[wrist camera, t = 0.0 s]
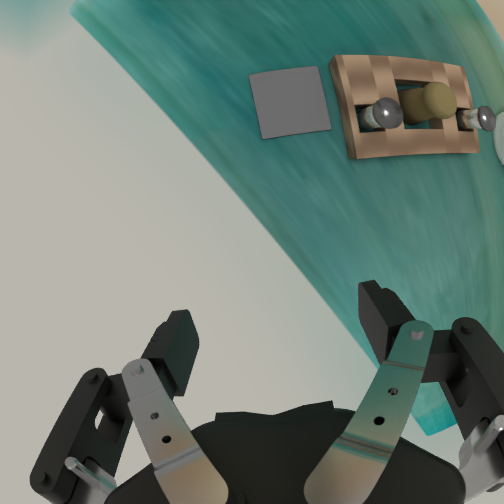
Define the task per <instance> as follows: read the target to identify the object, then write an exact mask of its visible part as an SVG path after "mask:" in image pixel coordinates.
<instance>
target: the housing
mask: <svg viewBox="0 0 504 504" xmlns="http://www.w3.org/2000/svg"><path fill="white" fill-rule="evenodd" d="M329 67H330V70H331V74H332V78H333V82H334V86H335V91H336V95H337V99H338V104H339V109H340V113H341V118H342V123H343V129H344V134H345V140H346V146H347V152H348V158H352V159H362V158H372V157H384V156H396V155H412V154H432V153H480V150H479V141H478V133H477V129H460V131H458V128H457V121H456V115H455V114H454V115H453V116H452V117H450V118H448V119H439V118H436V117H433V118H431V119H429V124H430V129H404V123H403V121H402V123H401V125H400V126H399V127H397V128H394V129H385V128H383V127H379V128H374V130H375V132H366V133H360V132H359V126H358V121H357V116H356V111H355V108H367V107H370V106H372V105H374V103H375V102H376V101H377V100H379V99H381V98H384V97H388V98H392V99H394V100H395V101H396V102H397V103H398V104H399V105H400V102H399V98H398V93H397V89H396V85H413V86H422V88H424V87H425V86H426V85H427V84H428V83H431V82H434V81H436V82H442V83H444V84H446V85H447V86H448V87H450V88H451V90H452V91H453V92H454V94H455V96H456V100H457V109H456V110H457V111H462V110H473V109H474V108H473V103H472V98H471V93H470V89H469V85H468V81H467V77H466V73H465V70H464V67H460V66H456V65H451V64H446V63H440V62H435V61H428V60H421V59H413V58H404V57H393V56H376V55H335V56H334V57H333V58H332V60H331V61H330V62H329Z"/></svg>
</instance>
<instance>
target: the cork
mask: <svg viewBox="0 0 504 504" xmlns="http://www.w3.org/2000/svg"><path fill="white" fill-rule="evenodd" d="M397 93H398V98H399V102H400V106H401V108H402V111H403V123H405V124H408V125H415V124H418V123H420V122H423V121H426V120H428V119H431V118H433V117H436V118H439V119H448V118H450V117H452V116H453V115H454V114H455V112H456V109H457V100H456V96H455V94H454V92H453V91H452V90H451V88H450V87H448V86H447V85H446V84H444V83H442V82H436V81H434V82H431V83H428V84H427V85H426V86H425V87H424V88H414V89H403V90H399V91H397Z"/></svg>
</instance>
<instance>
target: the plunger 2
mask: <svg viewBox="0 0 504 504" xmlns="http://www.w3.org/2000/svg"><path fill="white" fill-rule="evenodd" d="M455 115H456V121H457V128H459V129H483V130H485V131H489V132H491V131H493V130H494V129H495V127H496V119H495V115H494V113H493V111H492V110H491V109H490V108H489V107H488V106H481V107H479V108H478V109H473V110H462V111H456V112H455Z"/></svg>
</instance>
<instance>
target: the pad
mask: <svg viewBox="0 0 504 504" xmlns="http://www.w3.org/2000/svg"><path fill="white" fill-rule="evenodd" d="M249 79H250V84H251V88H252V93H253V97H254V102H255V106H256V111H257V116H258V120H259V125H260V130H261V135H262V140H263V139H268V138H274V137H280V136H286V135H293V134H300V133H307V132H315V131H324V130H331V124H330V119H329V114H328V109H327V105H326V100H325V96H324V91H323V87H322V83H321V79H320V75H319V71H318V67H317V66H312V67H301V68H292V69H283V70H276V71H269V72H263V73H257V74H251V75H249Z"/></svg>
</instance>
